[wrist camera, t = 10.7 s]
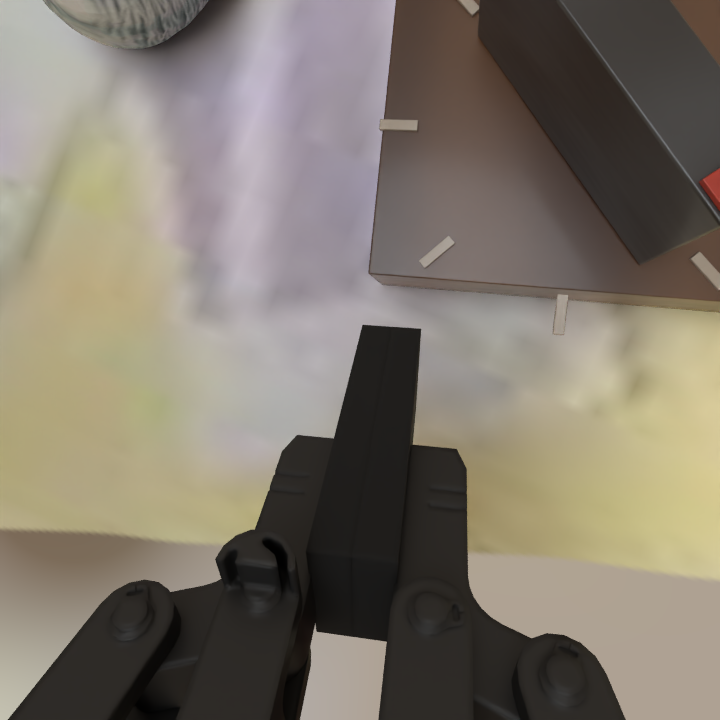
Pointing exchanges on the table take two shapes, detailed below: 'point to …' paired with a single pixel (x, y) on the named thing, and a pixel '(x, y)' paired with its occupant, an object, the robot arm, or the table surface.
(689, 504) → the table surface
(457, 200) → the dial console
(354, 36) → the table surface
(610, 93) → the pointer
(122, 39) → the grey striped ovoid
